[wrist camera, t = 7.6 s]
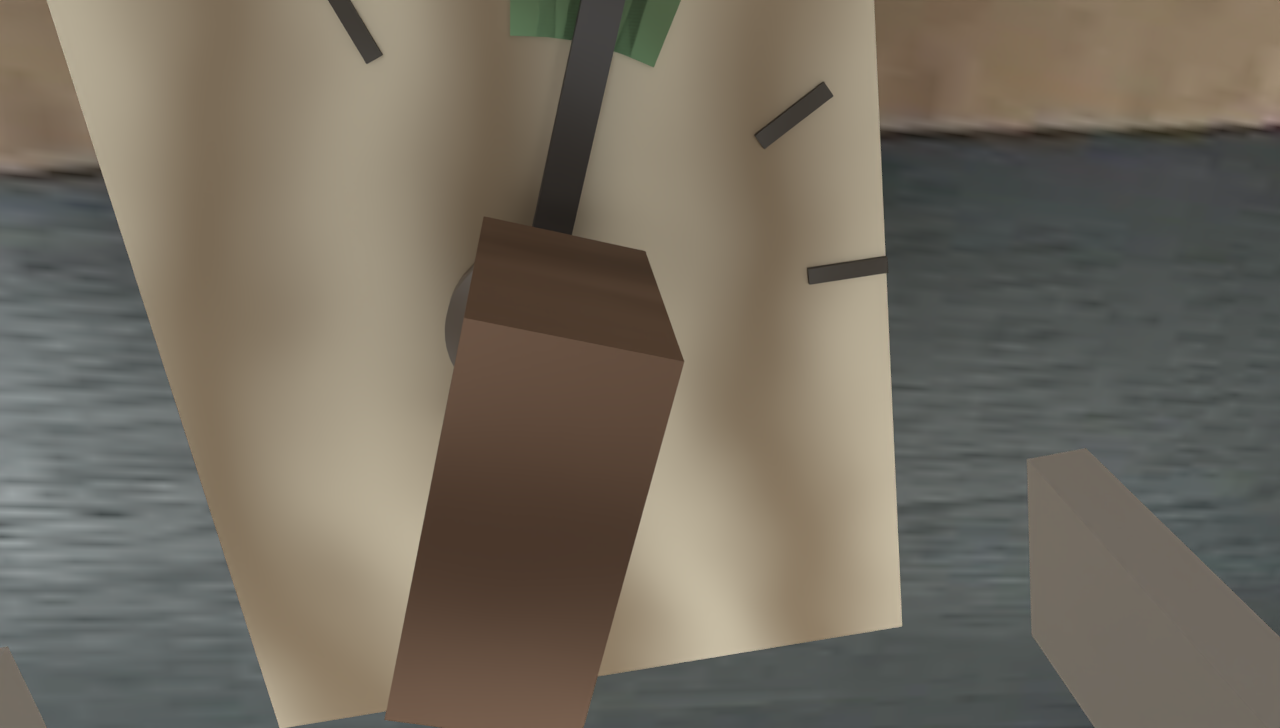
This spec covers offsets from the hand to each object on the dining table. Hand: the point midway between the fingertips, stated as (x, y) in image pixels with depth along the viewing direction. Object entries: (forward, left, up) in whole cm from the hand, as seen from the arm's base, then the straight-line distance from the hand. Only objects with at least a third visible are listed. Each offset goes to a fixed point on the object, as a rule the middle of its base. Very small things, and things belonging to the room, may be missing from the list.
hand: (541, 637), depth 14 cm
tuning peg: (-1, -2, -13) cm, 13 cm away
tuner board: (0, 0, -16) cm, 16 cm away
